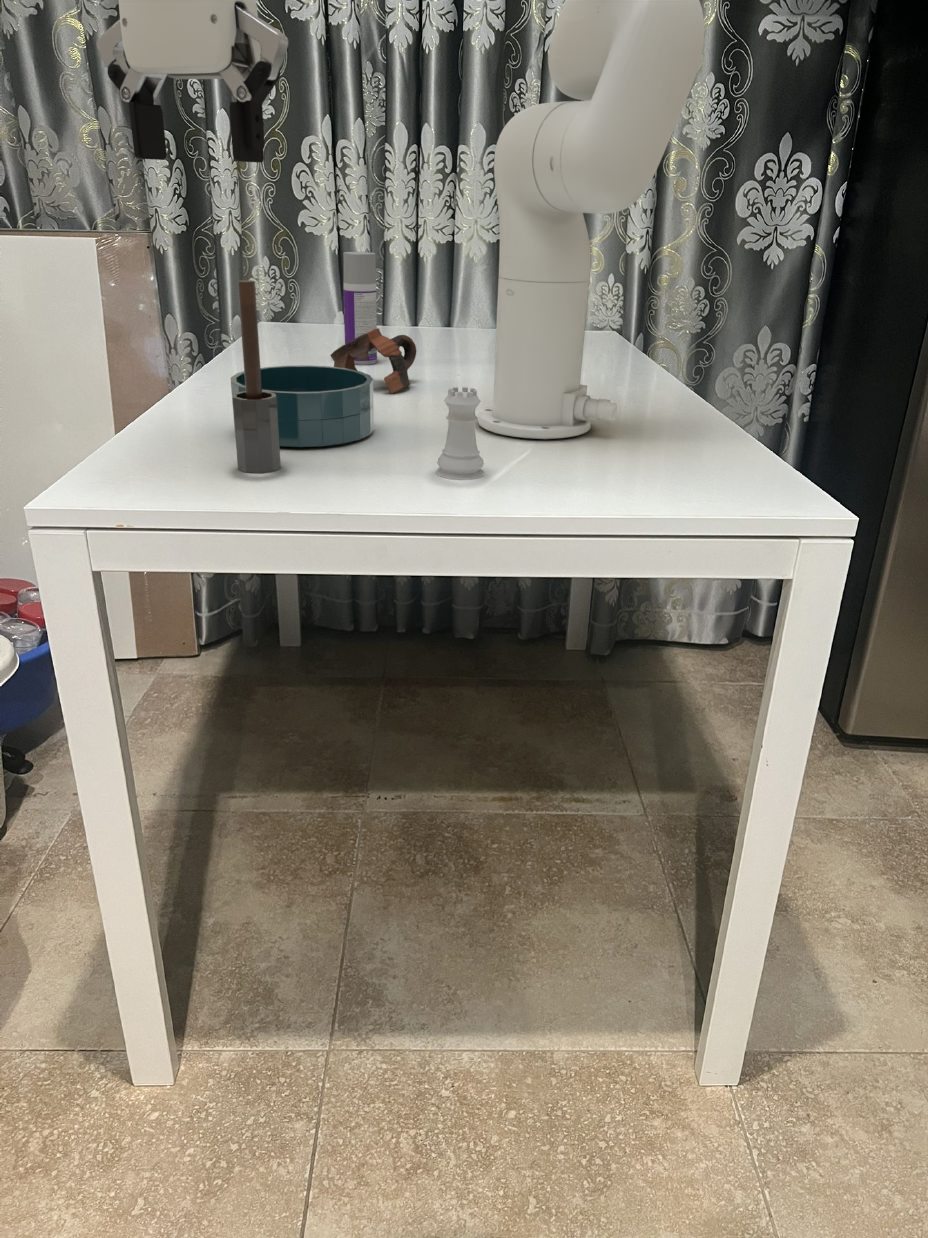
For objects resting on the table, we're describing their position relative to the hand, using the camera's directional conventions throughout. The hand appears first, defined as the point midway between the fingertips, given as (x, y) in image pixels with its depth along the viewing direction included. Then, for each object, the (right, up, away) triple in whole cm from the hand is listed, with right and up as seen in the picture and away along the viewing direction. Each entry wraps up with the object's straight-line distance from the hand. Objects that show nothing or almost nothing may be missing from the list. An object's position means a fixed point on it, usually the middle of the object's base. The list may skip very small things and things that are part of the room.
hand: (199, 160), depth 73 cm
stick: (+3, -23, +10) cm, 25 cm away
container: (+6, +1, +61) cm, 61 cm away
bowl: (+5, -18, +22) cm, 29 cm away
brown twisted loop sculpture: (+10, -6, +46) cm, 48 cm away
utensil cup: (+3, -24, +10) cm, 26 cm away
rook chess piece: (+21, -24, +10) cm, 34 cm away
